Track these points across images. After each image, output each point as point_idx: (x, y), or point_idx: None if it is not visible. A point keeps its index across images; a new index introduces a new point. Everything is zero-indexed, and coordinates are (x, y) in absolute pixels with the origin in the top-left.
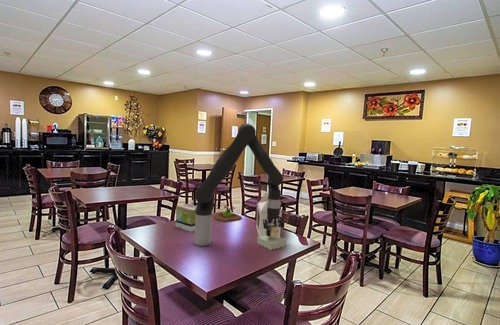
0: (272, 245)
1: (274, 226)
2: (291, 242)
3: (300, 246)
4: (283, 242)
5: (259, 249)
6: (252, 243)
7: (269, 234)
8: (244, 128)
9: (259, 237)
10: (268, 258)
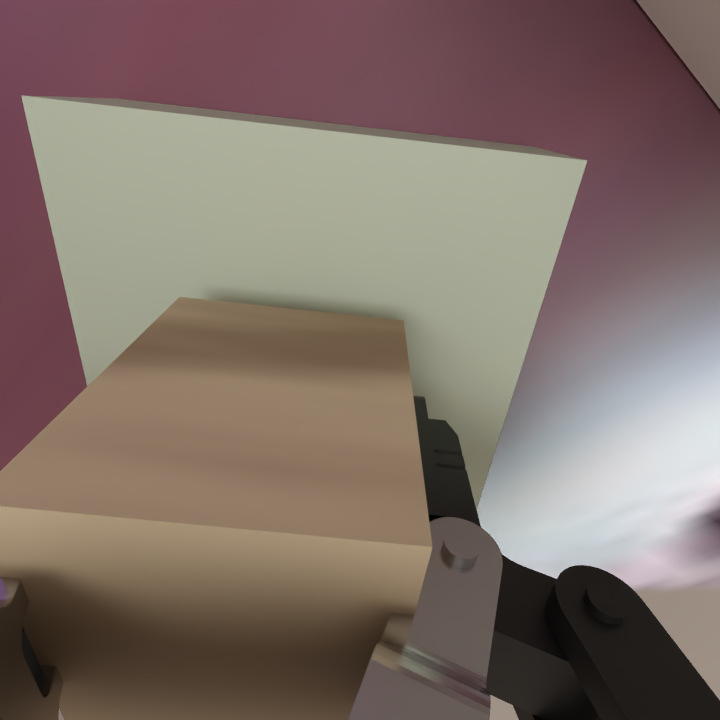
0: None
1: (255, 695)
2: (676, 407)
3: (605, 538)
4: None
5: (32, 327)
6: (27, 19)
7: None
8: None
9: (62, 160)
10: None
